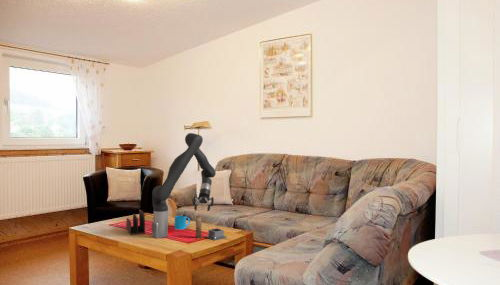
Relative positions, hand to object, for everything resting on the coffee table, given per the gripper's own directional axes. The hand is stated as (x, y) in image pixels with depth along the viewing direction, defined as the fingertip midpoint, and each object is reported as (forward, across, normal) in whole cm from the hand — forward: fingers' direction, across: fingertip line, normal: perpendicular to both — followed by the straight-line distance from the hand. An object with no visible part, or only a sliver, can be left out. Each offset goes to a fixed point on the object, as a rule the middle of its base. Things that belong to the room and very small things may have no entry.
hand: (201, 210), depth 256 cm
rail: (+19, 0, +4) cm, 19 cm away
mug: (+1, -17, +22) cm, 28 cm away
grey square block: (+18, +11, +5) cm, 22 cm away
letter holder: (+10, -47, +13) cm, 50 cm away
